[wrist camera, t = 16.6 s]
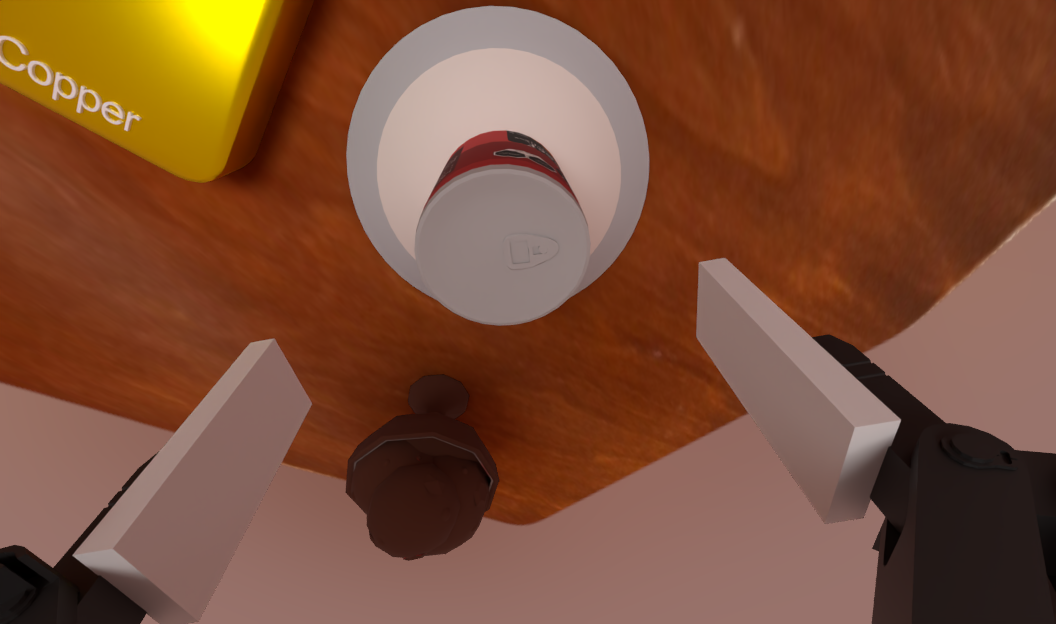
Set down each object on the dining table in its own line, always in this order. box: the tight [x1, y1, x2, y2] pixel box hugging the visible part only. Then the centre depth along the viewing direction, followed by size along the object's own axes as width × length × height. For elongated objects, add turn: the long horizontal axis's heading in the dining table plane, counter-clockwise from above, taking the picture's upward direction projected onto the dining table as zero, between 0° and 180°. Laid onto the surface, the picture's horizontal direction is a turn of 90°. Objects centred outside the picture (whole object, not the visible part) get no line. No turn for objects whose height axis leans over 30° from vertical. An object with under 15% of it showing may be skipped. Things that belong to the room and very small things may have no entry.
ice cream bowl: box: [346, 375, 499, 560], centre depth 33 cm, size 11×11×15 cm
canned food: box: [414, 130, 591, 325], centre depth 24 cm, size 8×8×11 cm
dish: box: [347, 6, 649, 300], centre depth 30 cm, size 20×20×2 cm
